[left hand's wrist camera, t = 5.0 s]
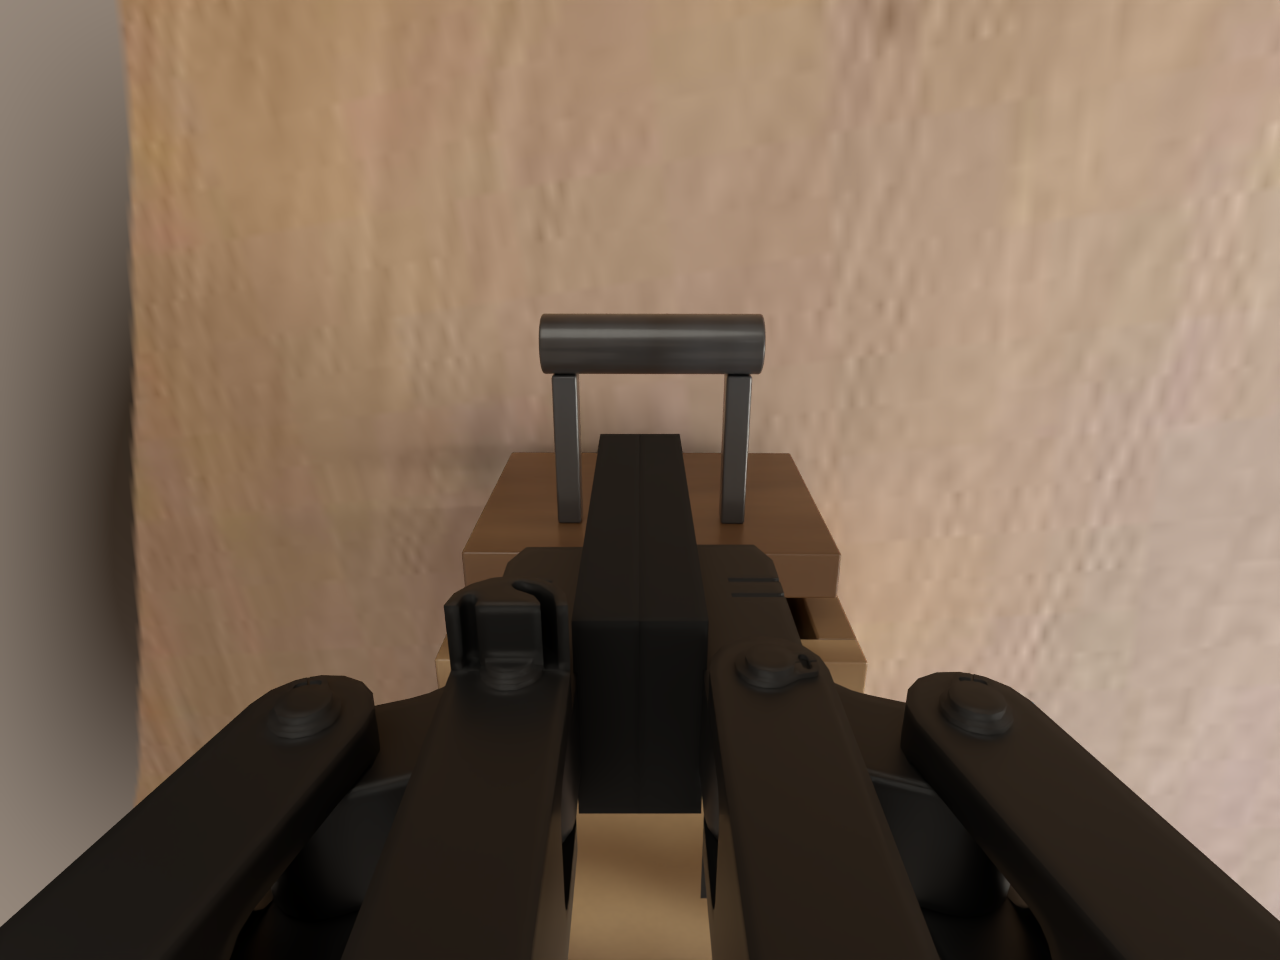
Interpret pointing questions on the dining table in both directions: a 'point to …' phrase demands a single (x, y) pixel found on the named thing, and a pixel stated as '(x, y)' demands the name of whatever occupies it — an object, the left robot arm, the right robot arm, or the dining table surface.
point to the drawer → (717, 482)
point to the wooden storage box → (669, 838)
